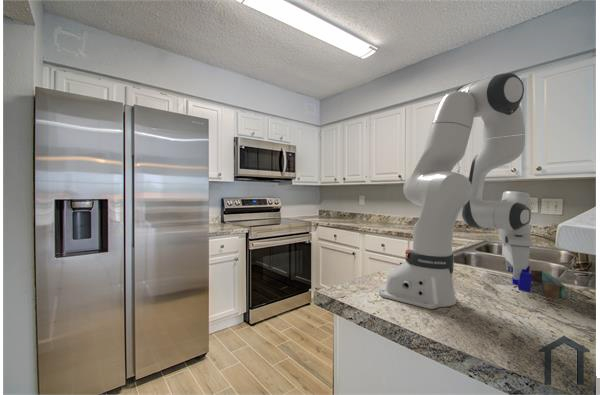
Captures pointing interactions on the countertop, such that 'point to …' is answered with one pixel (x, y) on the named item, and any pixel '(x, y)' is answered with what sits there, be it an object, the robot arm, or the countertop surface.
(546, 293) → the rail
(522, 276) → the cable clip
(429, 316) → the countertop surface
